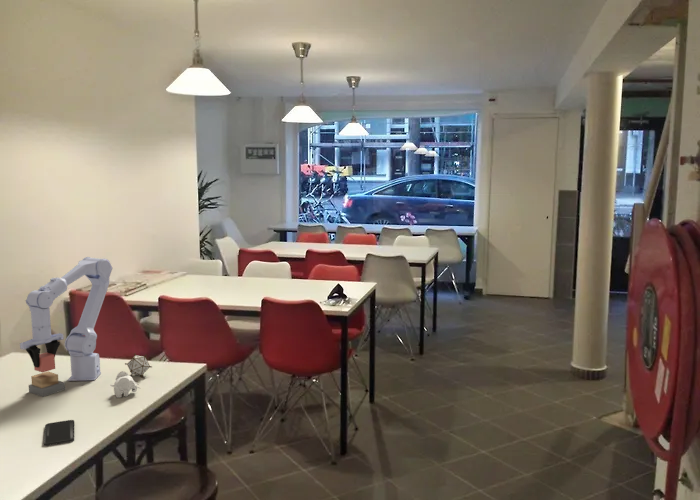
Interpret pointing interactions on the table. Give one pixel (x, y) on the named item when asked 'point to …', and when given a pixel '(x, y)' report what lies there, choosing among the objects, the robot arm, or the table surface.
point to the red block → (46, 362)
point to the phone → (59, 433)
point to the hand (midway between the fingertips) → (44, 364)
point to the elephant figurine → (124, 385)
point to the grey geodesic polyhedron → (138, 365)
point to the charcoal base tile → (47, 389)
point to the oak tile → (44, 379)
